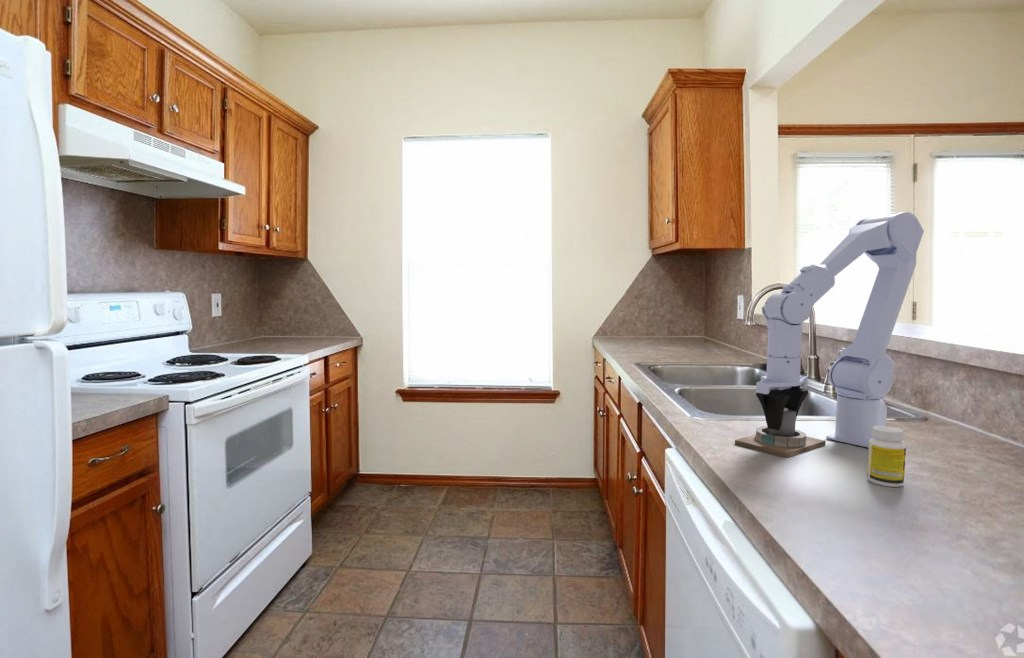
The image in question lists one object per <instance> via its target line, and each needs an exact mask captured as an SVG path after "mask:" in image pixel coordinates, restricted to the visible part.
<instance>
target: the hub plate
mask: <svg viewBox="0 0 1024 658" xmlns="http://www.w3.org/2000/svg"><path fill="white" fill-rule="evenodd" d="M768 430H769V428H768V427H767V425H765V426H759V427H756V429H755V434H752V435H748V436H744V437H742V438H737V439H734V445H737V446H740V447H745V448H748V449H752V450H755V451H759V452H763V453H767V454H771V455H775V456H779V457H782V458H789V457H792V456H796V455H798V454H802V453H806V452H808V451H811V450H815V449H817V448H820V447H824V446H826V442H827V441H826V440H825V439H820V438H814V437H811V436H807V435H806V433H805V432H803V431H801V430H799V429H795V437H782V436H774V435H770V434H768Z"/></svg>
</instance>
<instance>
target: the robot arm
mask: <svg viewBox="0 0 1024 658" xmlns="http://www.w3.org/2000/svg"><path fill="white" fill-rule="evenodd" d="M924 231H925V230H924V229H923V226H922V224H921V223H920V221H919V219H918V218H917V216H916V215H915V214H914V213H912V212H909V211H903V212H902V211H901V212H899V213H895V214H888V215H882V216H877V217H864V218H862V219H860V220H859V221H857V223H856V224H855V225H853V226H851V227H850V228H849V231H848V235H847V236H846V237H844V239H843V240H842V241H841V242H839V244H838V245H837V246H836V247H835V248H834V249H833V250H832V251H831V252H830V253H829V254H828V255H827V256H826V257H825V258H824V259H823V260H822V261H821V263H820V264H810V265H806V266H805V265H804V266H803V267H802V268H800V269H799V272H800V273H799V274H798V275H797V276H796V277H795V278H794V279H792V281H791V282H789V284H788V283H786V284H785V285H783V287H782V290H781V292H777V293H773V294H771V295H769V297H768V298H767V299H766V301H765V302H764V305H763V306H762V307H761V313H762V315H763V318H764V319H765V320H766V328H767V350H766V351H767V352H766V354H767V355H766V373H765V374H766V375H764V376H761V377H760V380H759V381H757V382H756V383H755V385H756V387H755V389H756V390H755V396H756V397H757V399H758V401H759V402H760V406H761V408H762V411H763V414H764V417H765V423H766V426H767V427H768V428H770V429H774V430H780V428H781V424H782V417H783V412H784V408H788V409H789V410H793V411H796V419H797V417H798V414H799V411H800V409H801V406H802V404H803V402H804V401H805V399H806V398H807V397H808V395H809V389H807V388H804V387H808V380H809V377H808V376H807V375H806V376H805V375H801V365H802V364H801V361H802V360H801V359H802V343H803V342H802V340H803V338H802V337H803V323H804V322H805V321H807V320H808V319H809V318H810V316H811V313H812V308H813V307H814V306H815V304H816V303H817V302H818V301H819V300H820V299H821V298H822V297H823V296H825V295H826V294H827V293H828V292H829V291H830V290H831V289H833V287H834V286H835V282H836V280H835V279H836V278H835V277H836V276H837V275H838V274H840V273H841V272H842V271H844V270H845V269H846V268H847V267H848V266H850V265H851V264H852V263H853V262H855V261H856V260H857V259H859V258H860V256H862V255H864V254H865V256H867V257H868V258H869V259H870V260H871V261H872V262H873V263H875V264H876V266H877V267H878V272H877V274H876V277H875V279H874V283H873V285H872V289H871V291H870V293H869V297H868V300H867V302H866V306H865V308H864V312H863V314H862V316H861V320H860V323H859V326H858V329H857V331H856V334H855V338H854V340H853V343H852V344H850V345H849V346H846V348H844V349H842V350H841V351H839V354H838V357H837V359H836V360H835V361H834V362H833V363H832V365H831V366H830V368H829V370H828V380H829V383H830V384H831V386H832V387H833V388H834V393H836V410H835V411H836V413H835V431H834V433H831V434H829V435H826V436H825V438H826V439H827V440H833V441H836V442H841V443H846V444H849V445H855V446H859V447H864V448H868V446H869V440H870V439H871V438H874V437H873V436H872V428H873V427H874V426H887V414H888V413H887V412H888V409H887V408H888V407H887V405H886V403H885V401H884V399H885V396H886V395H887V394H889V392H890V391H891V390H892V386H893V381H894V379H893V372H894V371H893V370H894V368H895V365H896V364H895V361H893V360H892V358H891V357H890V356H889V354H888V353H887V349H888V346H889V344H890V343H889V342H890V340H891V337H892V334H893V331H894V329H895V327H896V323H897V320H898V318H899V314H900V312H901V309H902V305H903V303H904V300H905V298H906V295H907V292H908V289H909V285H910V283H911V280H912V277H913V275H914V272H915V268H916V266H917V252H918V249H919V247H920V244H921V241H922V238H923V235H924ZM801 387H803V388H801Z"/></svg>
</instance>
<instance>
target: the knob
mask: <svg viewBox="0 0 1024 658" xmlns="http://www.w3.org/2000/svg"><path fill="white" fill-rule="evenodd" d="M796 420H797V418H796V411H793V410H789V409H788V408H784V412H783V417H782V424H781V428H780V430H774V429H770V428H769V430H768V434H770V435H774V436H782V437H795V430H796Z"/></svg>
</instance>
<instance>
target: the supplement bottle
mask: <svg viewBox="0 0 1024 658" xmlns="http://www.w3.org/2000/svg"><path fill="white" fill-rule="evenodd" d="M904 433H905V432H904V430H903V429H902V428H898V427H894V426H887V425H886V426H874V427H873V428H872V436H873V437H874V438H871V439H870V440H869V446H868V447H867V448H868V449H867V451H868V452H867V465H866V479H867V480H868V481H869V482H871V483H872V484H875V485H879V486H883V487H888V488H889V487H890V488H899V487H902V486H904V484H905V474H906V473H905V471H906V469H905V468H906V456H907V445H906V444H905V442H903V441H904V439H905V434H904Z"/></svg>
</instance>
